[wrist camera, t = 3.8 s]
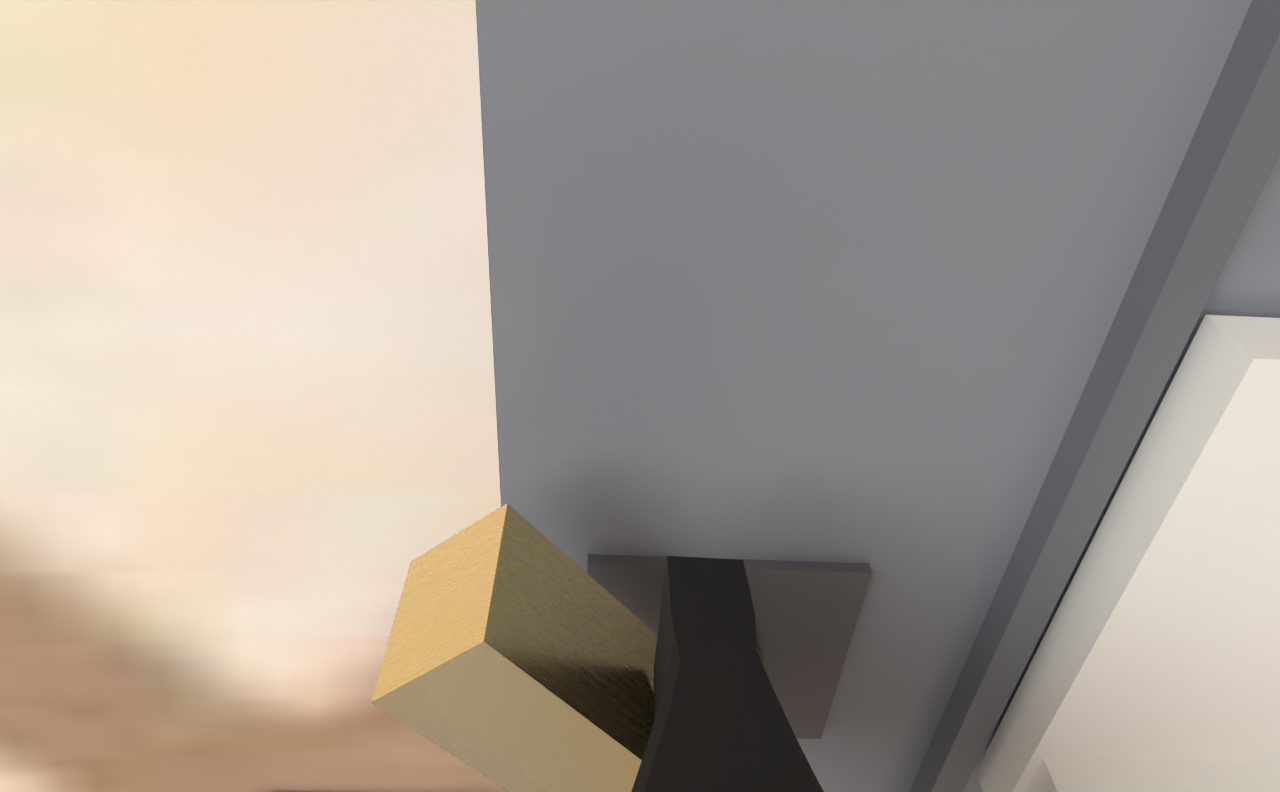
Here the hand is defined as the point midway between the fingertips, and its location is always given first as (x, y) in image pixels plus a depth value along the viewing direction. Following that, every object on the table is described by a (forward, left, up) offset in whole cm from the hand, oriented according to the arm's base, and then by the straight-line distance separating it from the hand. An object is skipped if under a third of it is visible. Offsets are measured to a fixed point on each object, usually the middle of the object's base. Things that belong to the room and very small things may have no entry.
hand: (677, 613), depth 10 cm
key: (-2, 0, -2) cm, 3 cm away
